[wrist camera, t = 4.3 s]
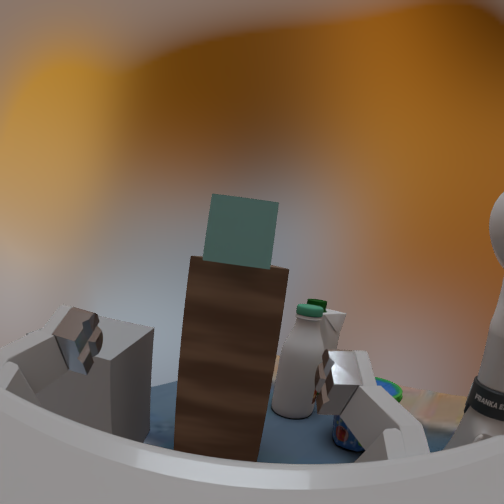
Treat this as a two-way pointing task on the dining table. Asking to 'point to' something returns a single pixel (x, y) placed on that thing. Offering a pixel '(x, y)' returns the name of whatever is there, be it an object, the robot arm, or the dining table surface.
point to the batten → (240, 231)
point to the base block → (109, 384)
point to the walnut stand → (227, 357)
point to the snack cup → (344, 434)
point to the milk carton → (329, 324)
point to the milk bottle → (299, 365)
